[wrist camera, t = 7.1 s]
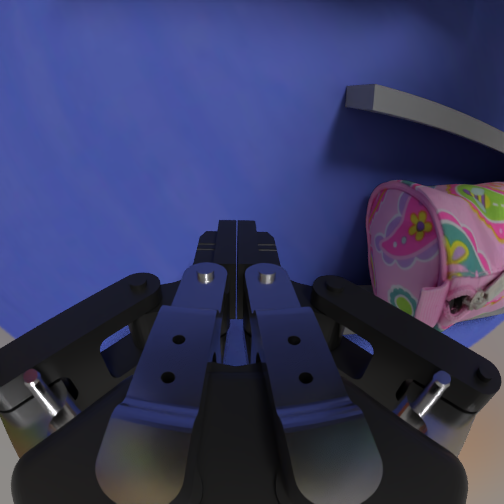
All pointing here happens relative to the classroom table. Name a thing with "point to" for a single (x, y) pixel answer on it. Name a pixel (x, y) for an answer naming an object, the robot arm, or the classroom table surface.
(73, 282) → the classroom table surface
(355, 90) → the frame
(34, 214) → the classroom table surface
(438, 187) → the pencil case
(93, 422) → the robot arm
